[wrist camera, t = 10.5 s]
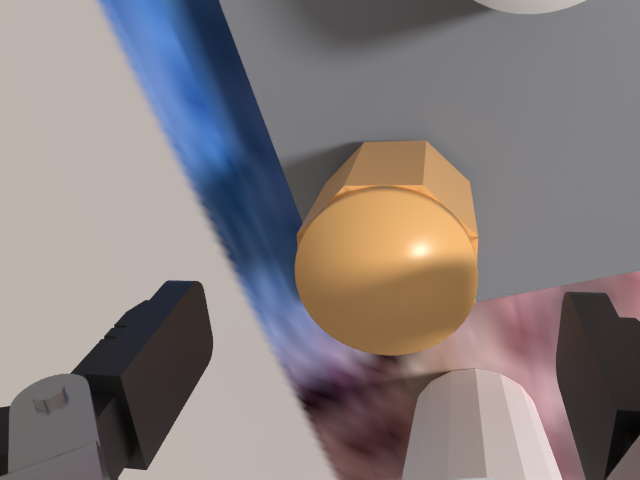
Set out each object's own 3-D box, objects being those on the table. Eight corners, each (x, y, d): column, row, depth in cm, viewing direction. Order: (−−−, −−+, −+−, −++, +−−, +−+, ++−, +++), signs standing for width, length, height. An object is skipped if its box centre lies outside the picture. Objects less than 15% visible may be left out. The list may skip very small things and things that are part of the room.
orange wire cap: (322, 142, 19) (286, 193, 14) (471, 139, 18) (482, 192, 13) (331, 270, 21) (302, 350, 16) (466, 273, 20) (474, 360, 15)
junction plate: (212, -102, 20) (66, -154, 12) (578, -273, 16) (707, -506, 8) (351, 290, 25) (313, 427, 17) (648, 227, 21) (765, 366, 14)
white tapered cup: (584, 423, 26) (630, 565, 19) (472, 491, 29) (482, 634, 22) (476, 330, 25) (488, 448, 18) (372, 411, 28) (352, 536, 21)
